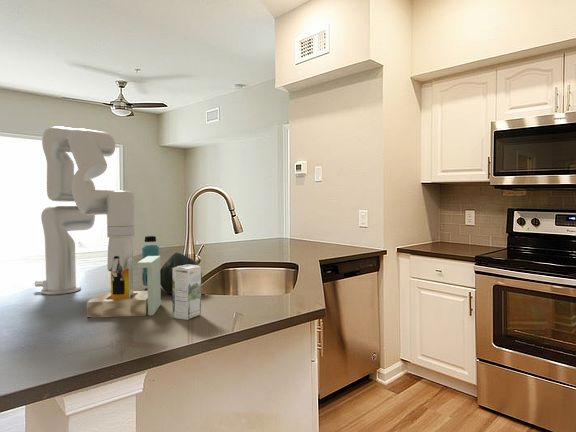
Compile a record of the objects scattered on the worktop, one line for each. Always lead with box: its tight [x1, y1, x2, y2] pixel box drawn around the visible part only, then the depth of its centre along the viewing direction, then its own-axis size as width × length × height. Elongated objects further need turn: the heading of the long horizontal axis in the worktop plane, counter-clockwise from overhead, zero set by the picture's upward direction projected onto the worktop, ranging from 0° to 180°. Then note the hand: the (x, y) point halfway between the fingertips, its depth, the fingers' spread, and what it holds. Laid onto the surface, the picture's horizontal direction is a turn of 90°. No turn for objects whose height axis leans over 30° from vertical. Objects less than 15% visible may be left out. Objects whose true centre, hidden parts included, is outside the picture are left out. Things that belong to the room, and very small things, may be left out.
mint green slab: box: [136, 255, 162, 316], centre depth 118 cm, size 4×14×16 cm, turn 8°
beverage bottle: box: [141, 235, 160, 287], centre depth 148 cm, size 6×7×20 cm
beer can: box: [110, 257, 134, 299], centre depth 117 cm, size 6×6×15 cm
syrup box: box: [172, 265, 202, 321], centre depth 111 cm, size 6×6×14 cm
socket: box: [86, 290, 148, 318], centre depth 117 cm, size 16×12×4 cm
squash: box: [160, 252, 203, 295], centre depth 142 cm, size 14×15×15 cm
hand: (122, 291), depth 117 cm, fingers closed on beer can, 6 cm apart
